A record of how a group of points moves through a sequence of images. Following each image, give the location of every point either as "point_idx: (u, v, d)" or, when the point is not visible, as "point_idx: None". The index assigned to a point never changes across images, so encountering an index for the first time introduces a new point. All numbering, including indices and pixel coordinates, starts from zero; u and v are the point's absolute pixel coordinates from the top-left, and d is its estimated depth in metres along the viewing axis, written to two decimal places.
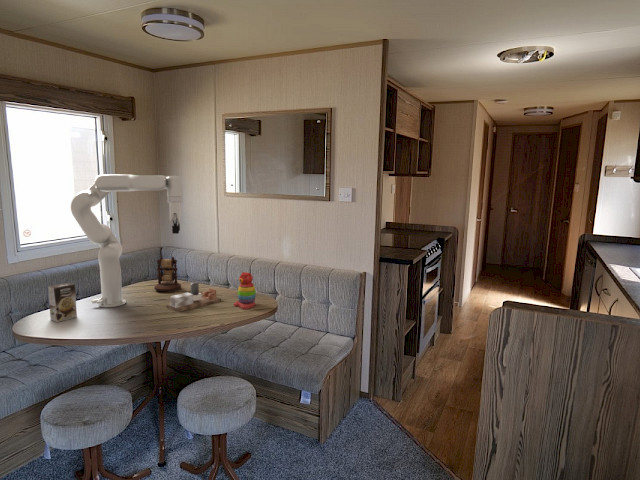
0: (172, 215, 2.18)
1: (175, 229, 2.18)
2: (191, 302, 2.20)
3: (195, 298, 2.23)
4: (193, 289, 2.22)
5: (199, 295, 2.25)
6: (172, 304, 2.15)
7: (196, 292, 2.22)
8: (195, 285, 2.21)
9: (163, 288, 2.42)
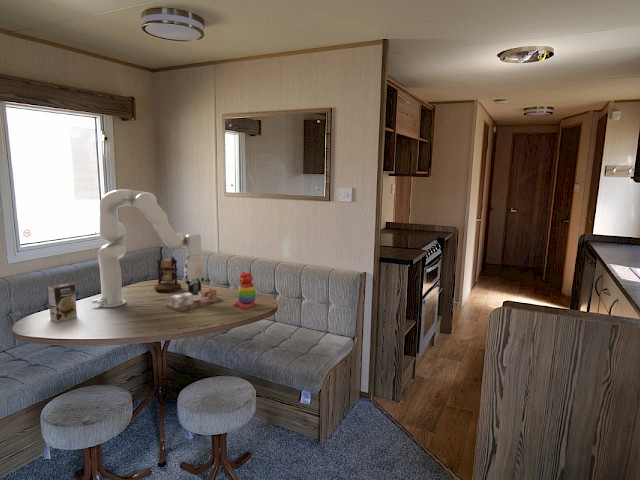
0: None
1: None
2: (191, 302, 2.20)
3: (195, 298, 2.23)
4: (193, 289, 2.22)
5: (199, 295, 2.25)
6: (172, 304, 2.15)
7: (196, 292, 2.22)
8: (195, 285, 2.21)
9: (163, 288, 2.42)
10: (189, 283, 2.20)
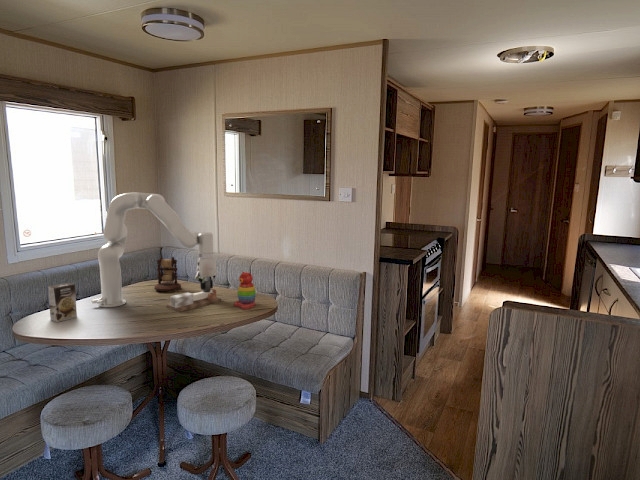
0: None
1: None
2: (191, 302, 2.20)
3: (207, 295, 2.29)
4: (205, 286, 2.27)
5: (211, 292, 2.30)
6: (172, 304, 2.15)
7: (208, 289, 2.28)
8: (207, 282, 2.27)
9: (163, 288, 2.42)
10: (201, 280, 2.25)
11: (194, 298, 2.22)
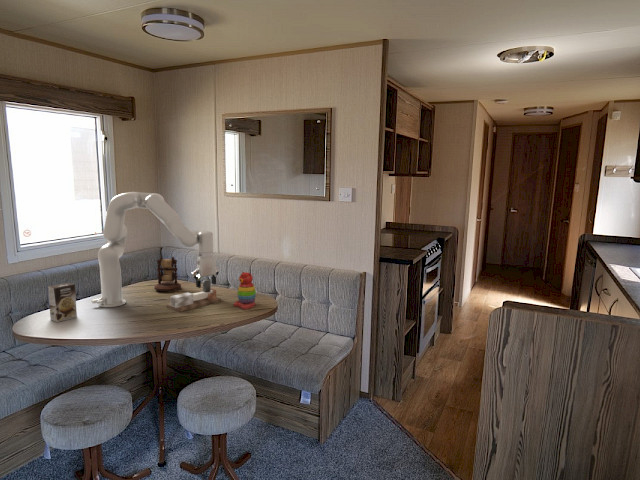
0: None
1: None
2: (191, 302, 2.20)
3: (207, 295, 2.29)
4: (205, 286, 2.27)
5: (211, 292, 2.30)
6: (172, 304, 2.15)
7: (208, 289, 2.28)
8: (207, 282, 2.27)
9: (163, 288, 2.42)
10: (197, 278, 2.23)
11: (194, 298, 2.22)
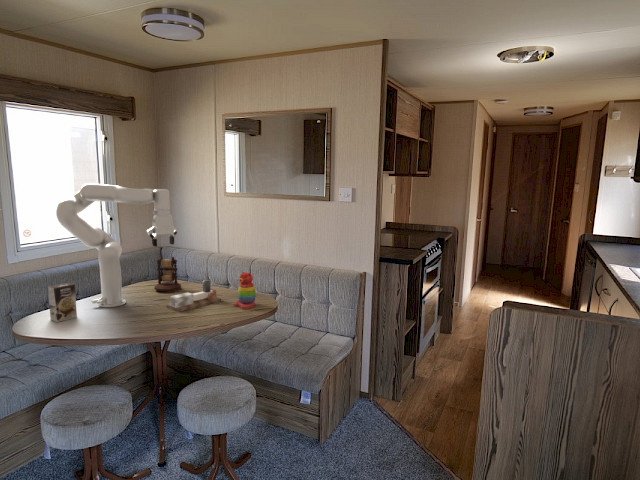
0: None
1: None
2: (191, 302, 2.20)
3: (207, 295, 2.29)
4: (205, 286, 2.27)
5: (211, 292, 2.30)
6: (172, 304, 2.15)
7: (208, 289, 2.28)
8: (207, 282, 2.27)
9: (163, 288, 2.42)
10: (153, 236, 2.19)
11: (194, 298, 2.22)
